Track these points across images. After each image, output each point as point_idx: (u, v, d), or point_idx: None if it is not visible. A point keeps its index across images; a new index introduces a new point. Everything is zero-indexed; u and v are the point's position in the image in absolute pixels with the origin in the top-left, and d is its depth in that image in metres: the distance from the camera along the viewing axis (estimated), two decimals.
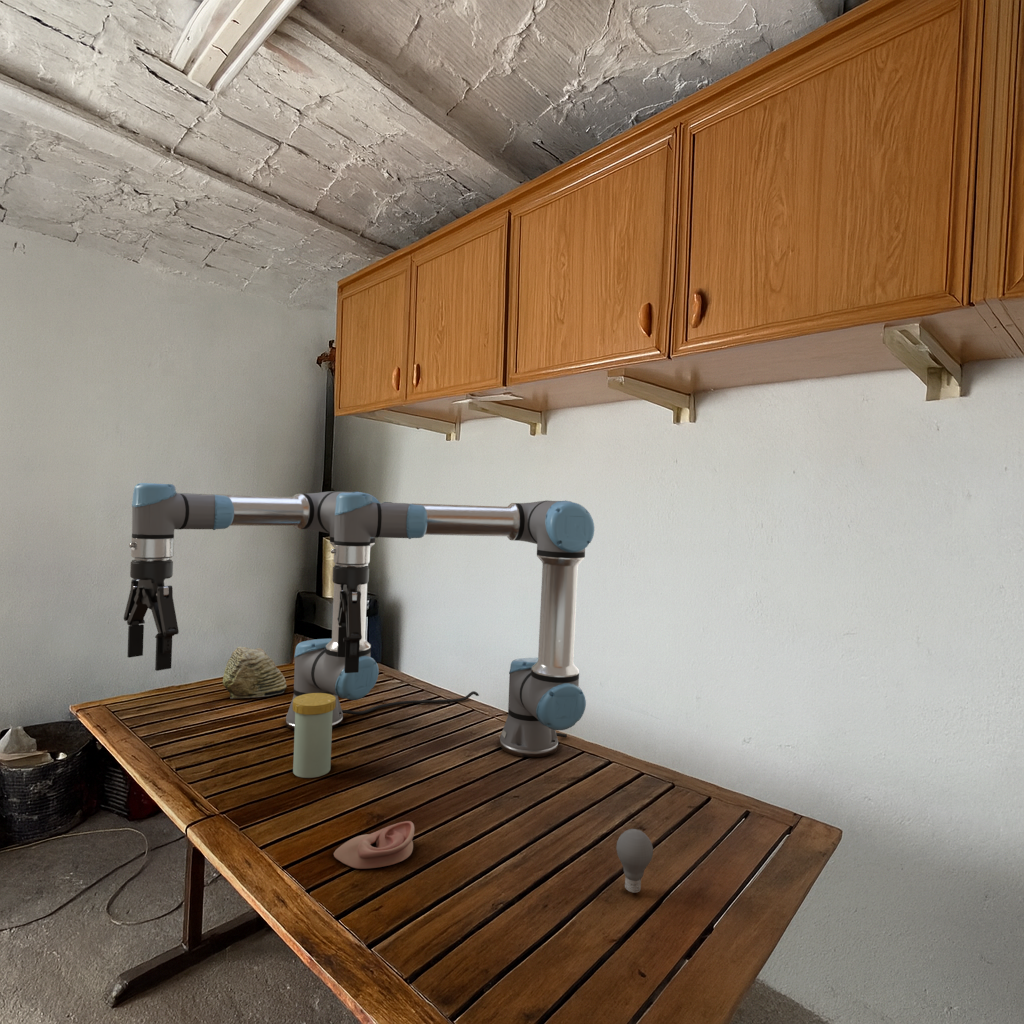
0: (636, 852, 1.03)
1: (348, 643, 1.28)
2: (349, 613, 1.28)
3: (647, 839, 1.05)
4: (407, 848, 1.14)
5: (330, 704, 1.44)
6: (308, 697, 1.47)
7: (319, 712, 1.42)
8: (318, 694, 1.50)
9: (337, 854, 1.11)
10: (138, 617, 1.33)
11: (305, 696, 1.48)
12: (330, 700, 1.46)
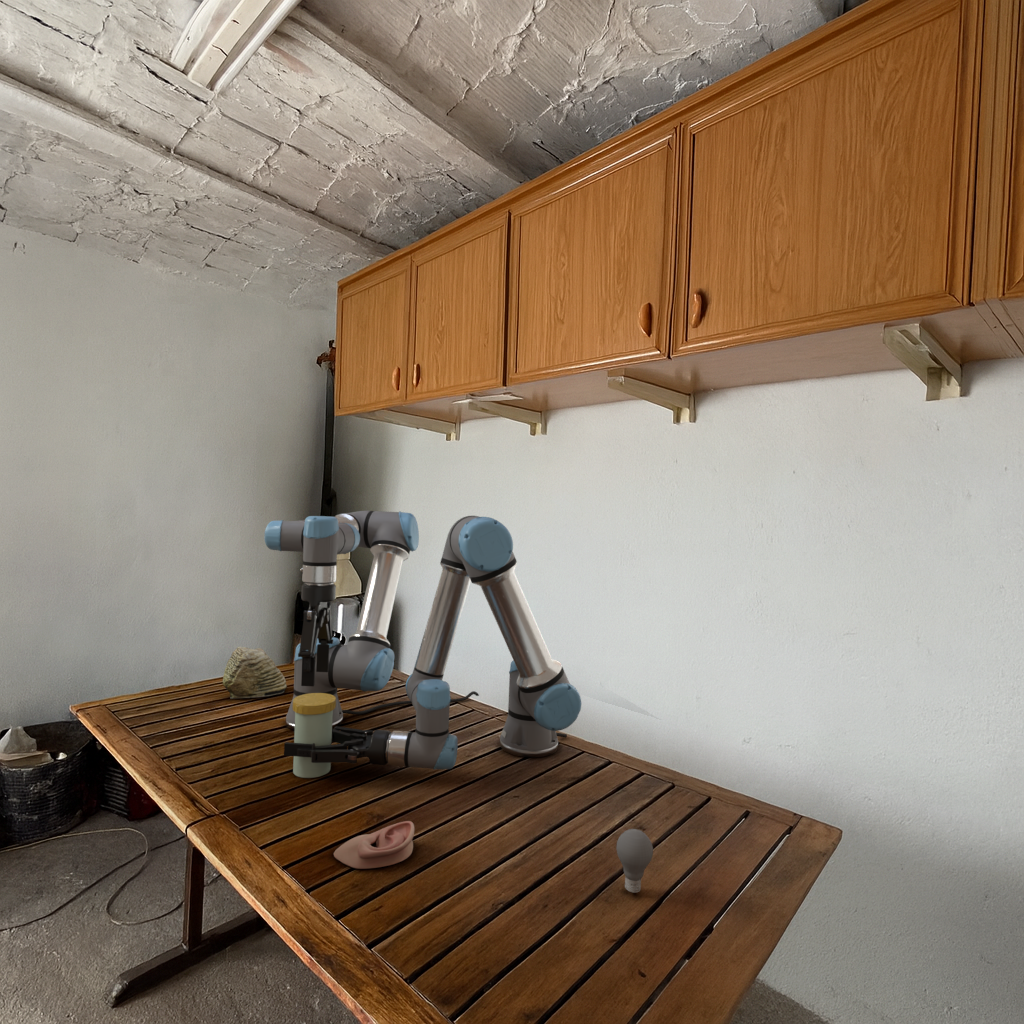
0: (636, 852, 1.03)
1: None
2: None
3: (647, 839, 1.05)
4: (407, 848, 1.14)
5: (330, 704, 1.44)
6: (308, 697, 1.47)
7: (319, 712, 1.42)
8: (318, 694, 1.50)
9: (337, 854, 1.11)
10: (323, 636, 1.51)
11: (305, 696, 1.48)
12: (330, 700, 1.46)
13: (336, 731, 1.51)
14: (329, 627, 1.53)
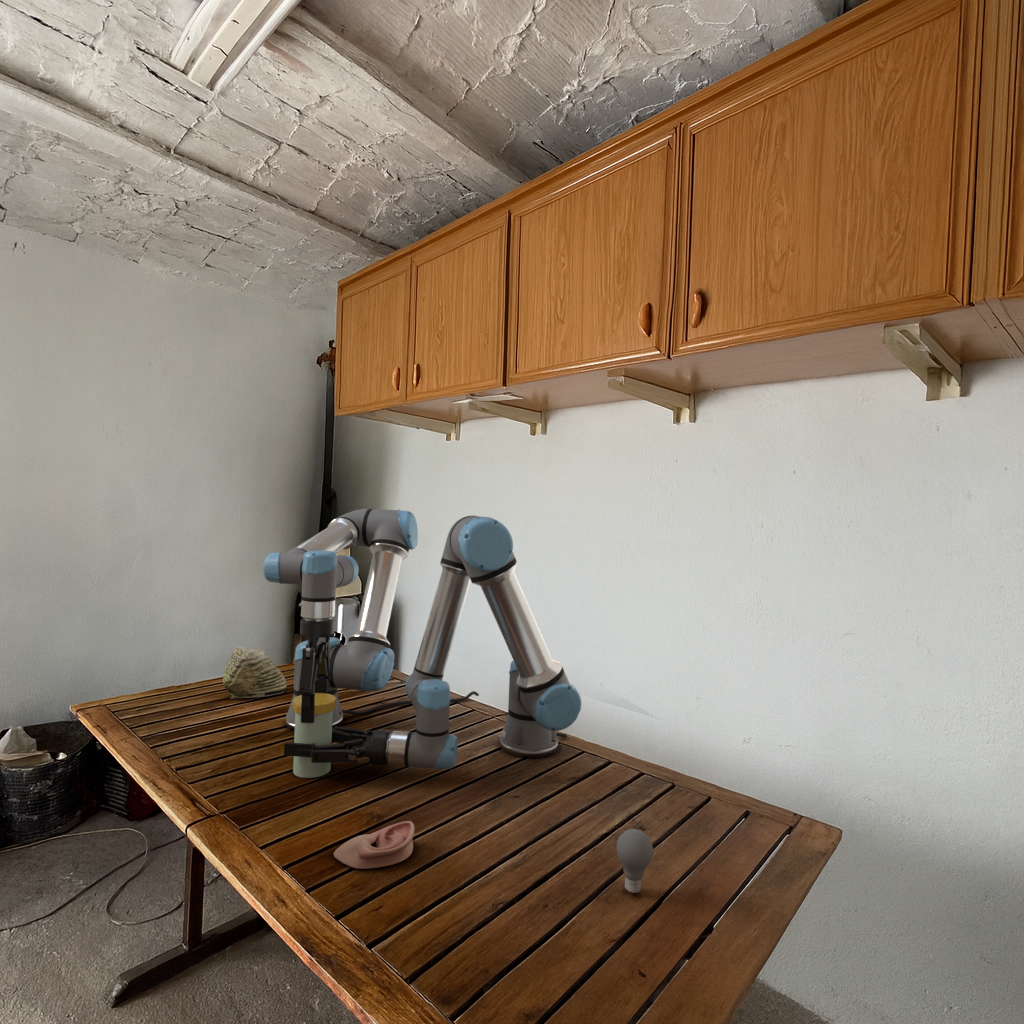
0: (636, 852, 1.03)
1: None
2: None
3: (647, 839, 1.05)
4: (407, 848, 1.14)
5: (330, 704, 1.44)
6: None
7: (319, 712, 1.42)
8: (318, 694, 1.50)
9: (337, 854, 1.11)
10: (321, 672, 1.50)
11: None
12: (330, 700, 1.46)
13: (336, 731, 1.51)
14: (327, 662, 1.52)
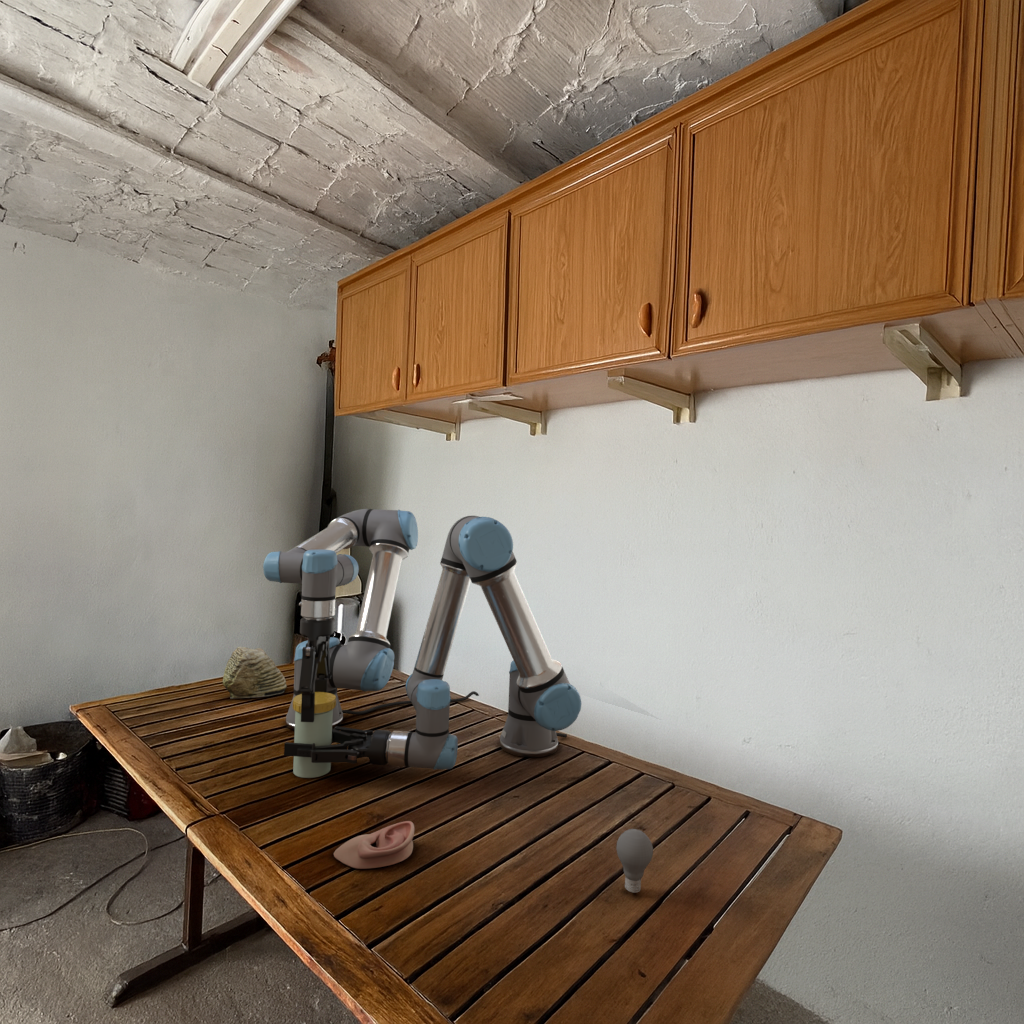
0: (636, 852, 1.03)
1: None
2: None
3: (647, 839, 1.05)
4: (407, 848, 1.14)
5: None
6: None
7: (335, 704, 1.47)
8: (301, 696, 1.47)
9: (337, 854, 1.11)
10: (321, 671, 1.50)
11: (301, 700, 1.44)
12: (326, 693, 1.50)
13: (336, 731, 1.51)
14: (327, 661, 1.52)
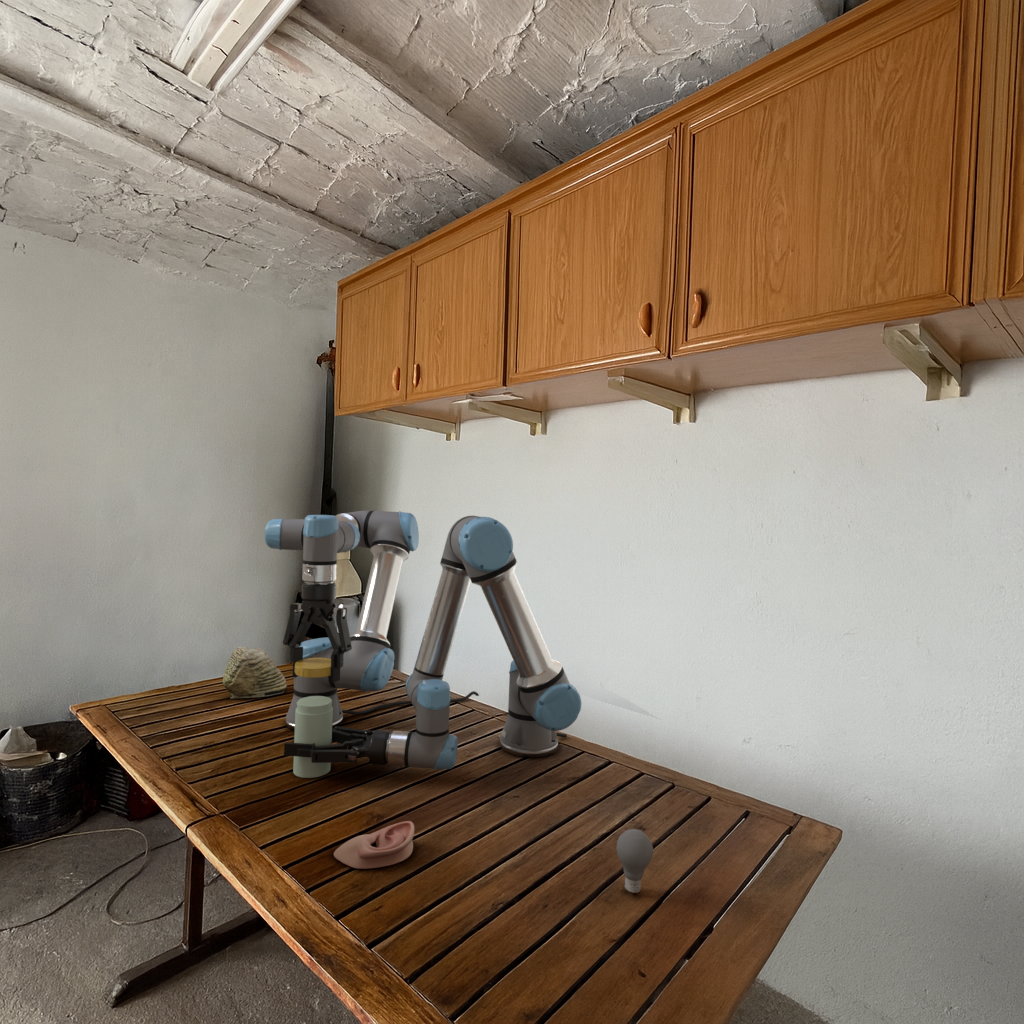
0: (636, 852, 1.03)
1: None
2: None
3: (647, 839, 1.05)
4: (407, 848, 1.14)
5: None
6: (318, 664, 1.45)
7: None
8: (304, 665, 1.43)
9: (337, 854, 1.11)
10: (300, 639, 1.47)
11: (317, 666, 1.43)
12: (308, 659, 1.49)
13: (336, 731, 1.51)
14: (295, 629, 1.49)
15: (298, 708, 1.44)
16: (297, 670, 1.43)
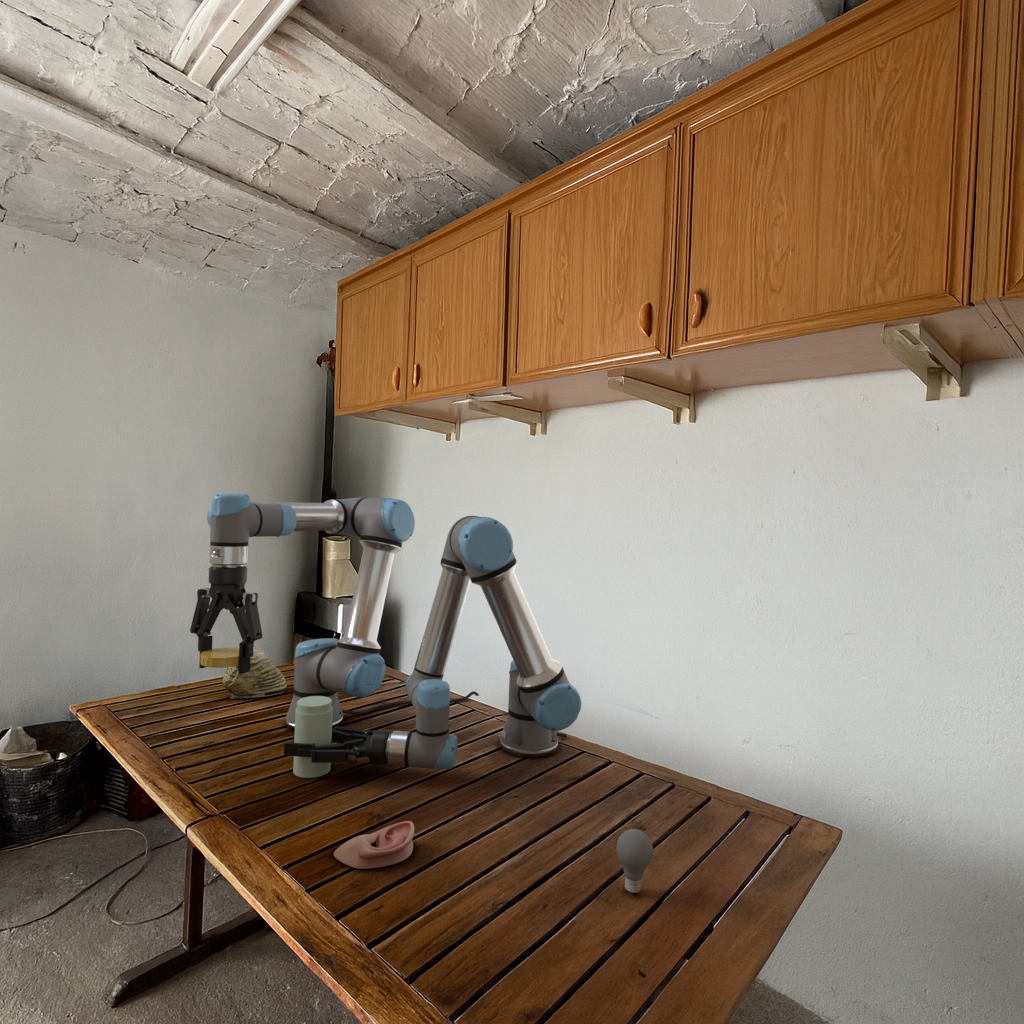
0: (636, 852, 1.03)
1: None
2: None
3: (647, 839, 1.05)
4: (407, 848, 1.14)
5: None
6: (226, 654, 1.34)
7: None
8: (209, 655, 1.33)
9: (337, 854, 1.11)
10: (209, 627, 1.37)
11: (224, 655, 1.33)
12: (218, 648, 1.38)
13: (336, 731, 1.51)
14: (205, 617, 1.38)
15: (298, 708, 1.44)
16: (202, 660, 1.32)
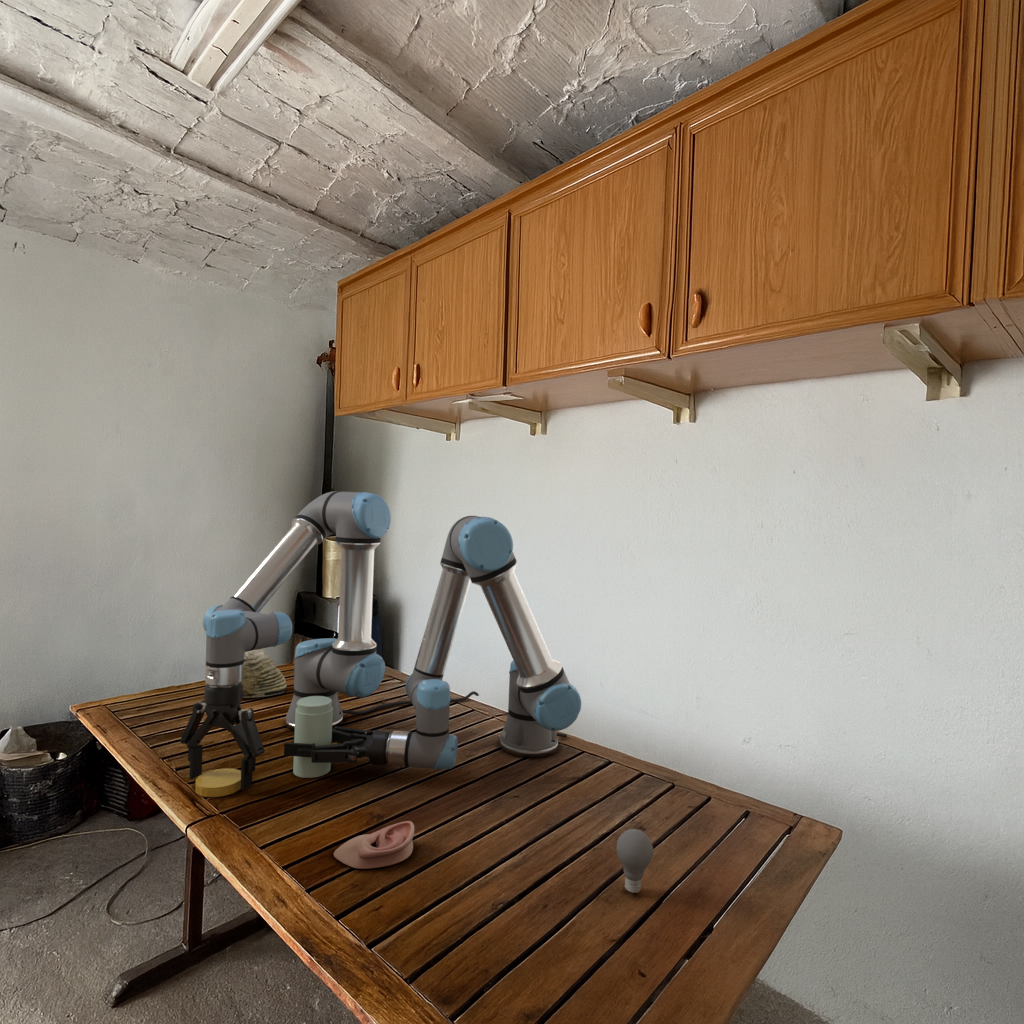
0: (636, 852, 1.03)
1: None
2: None
3: (647, 839, 1.05)
4: (407, 848, 1.14)
5: None
6: (221, 781, 1.35)
7: None
8: (204, 783, 1.33)
9: (337, 854, 1.11)
10: (200, 739, 1.38)
11: (219, 783, 1.33)
12: (213, 771, 1.39)
13: (336, 731, 1.51)
14: (197, 727, 1.39)
15: (298, 708, 1.44)
16: (197, 788, 1.33)
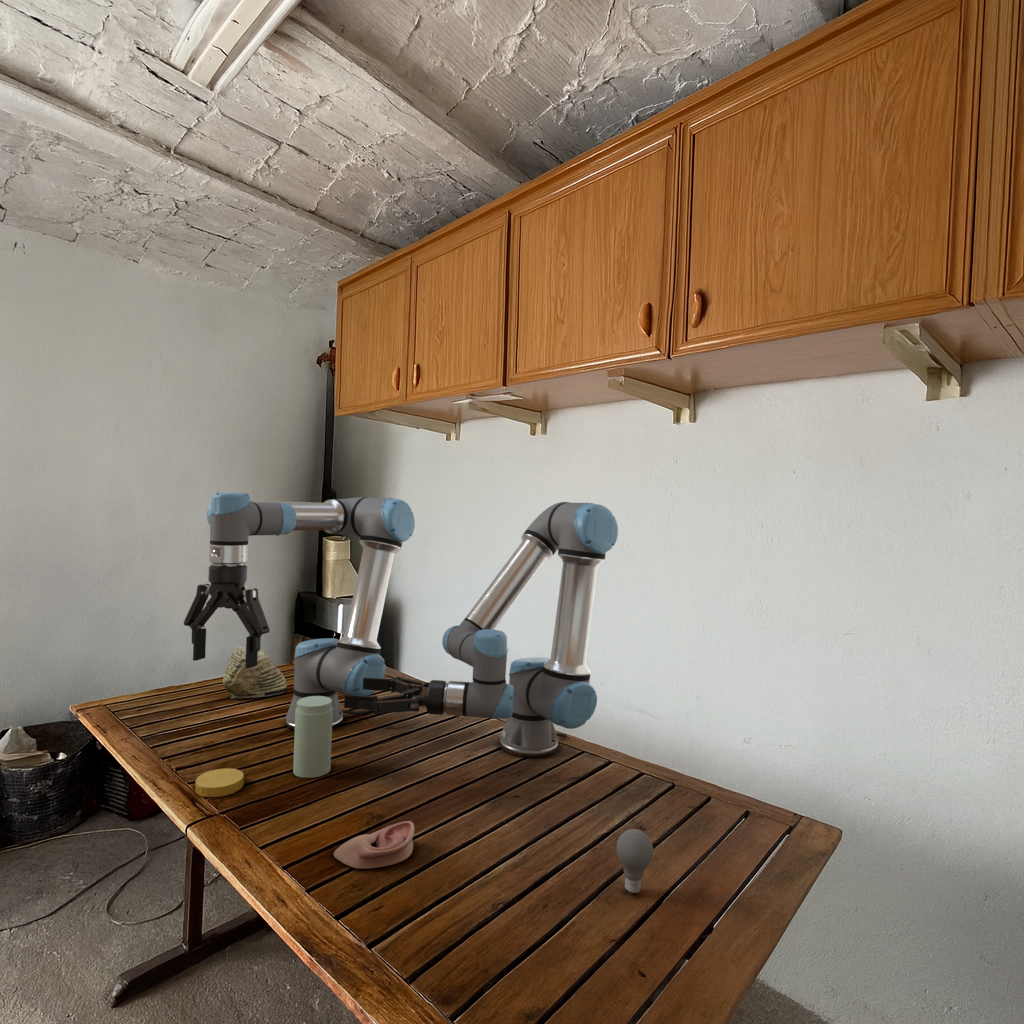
0: (636, 852, 1.03)
1: None
2: None
3: (647, 839, 1.05)
4: (407, 848, 1.14)
5: None
6: (221, 781, 1.35)
7: None
8: (204, 783, 1.33)
9: (337, 854, 1.11)
10: (203, 621, 1.37)
11: (219, 783, 1.33)
12: (213, 771, 1.39)
13: (397, 681, 1.51)
14: (200, 611, 1.39)
15: (298, 708, 1.44)
16: (197, 788, 1.33)
